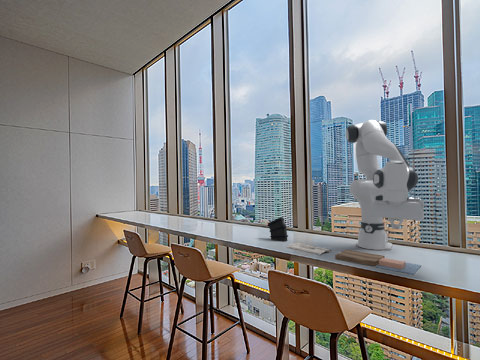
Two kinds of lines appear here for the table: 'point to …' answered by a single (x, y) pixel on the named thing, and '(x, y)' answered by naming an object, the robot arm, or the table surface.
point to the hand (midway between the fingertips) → (396, 228)
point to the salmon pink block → (392, 263)
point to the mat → (408, 268)
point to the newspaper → (308, 248)
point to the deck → (359, 257)
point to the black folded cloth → (278, 229)
